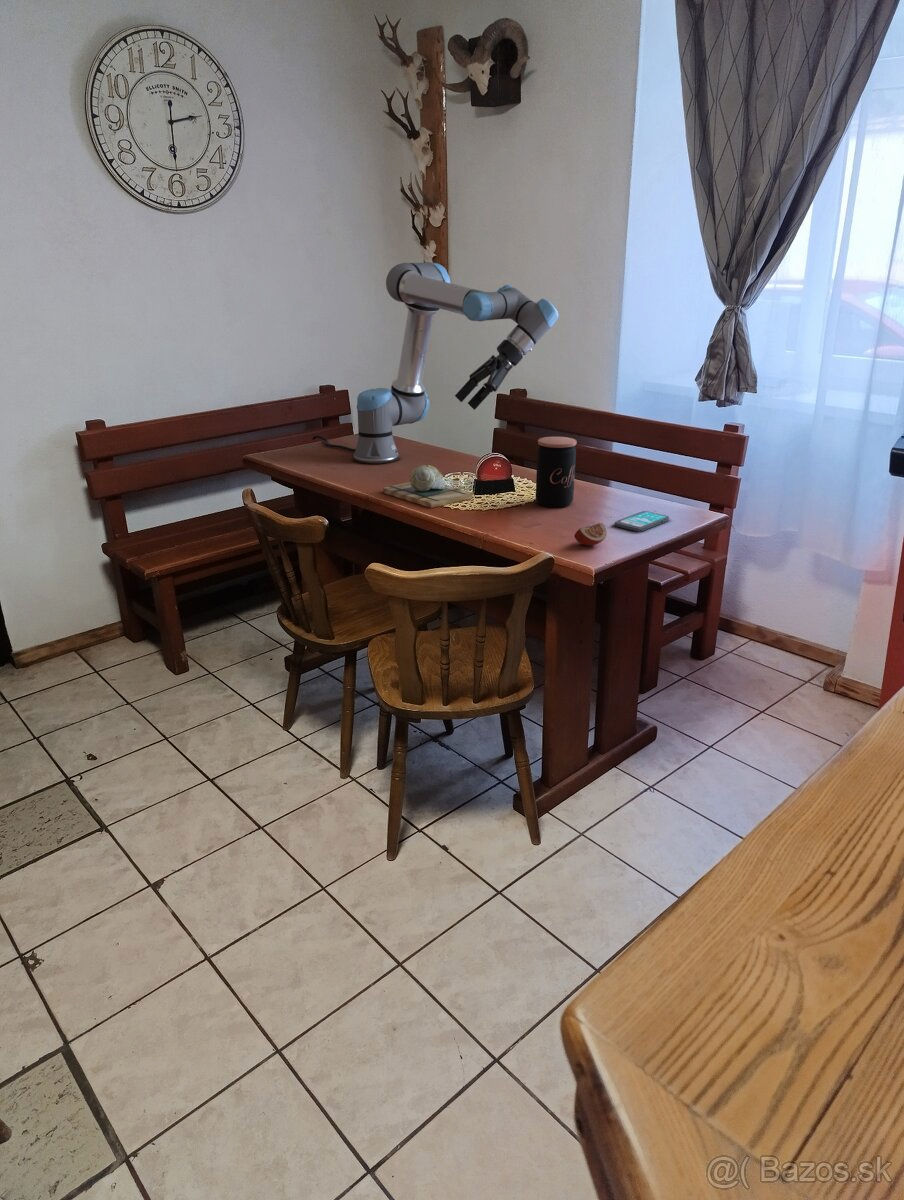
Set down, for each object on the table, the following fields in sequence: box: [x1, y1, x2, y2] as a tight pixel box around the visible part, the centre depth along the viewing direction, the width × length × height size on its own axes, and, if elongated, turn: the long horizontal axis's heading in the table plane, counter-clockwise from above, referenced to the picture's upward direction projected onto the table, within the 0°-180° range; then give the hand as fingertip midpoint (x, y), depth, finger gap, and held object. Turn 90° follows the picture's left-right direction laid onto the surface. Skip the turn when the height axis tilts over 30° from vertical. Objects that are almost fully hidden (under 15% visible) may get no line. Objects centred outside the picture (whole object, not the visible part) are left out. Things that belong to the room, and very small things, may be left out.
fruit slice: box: [573, 522, 608, 546], centre depth 197 cm, size 8×7×5 cm
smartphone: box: [614, 510, 670, 532], centre depth 214 cm, size 9×1×15 cm
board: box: [382, 481, 474, 509], centre depth 239 cm, size 22×16×2 cm
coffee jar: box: [535, 436, 578, 509], centre depth 228 cm, size 11×11×18 cm
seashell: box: [409, 464, 446, 492], centre depth 238 cm, size 10×10×10 cm
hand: (464, 402), depth 236 cm, fingers open, 13 cm apart
